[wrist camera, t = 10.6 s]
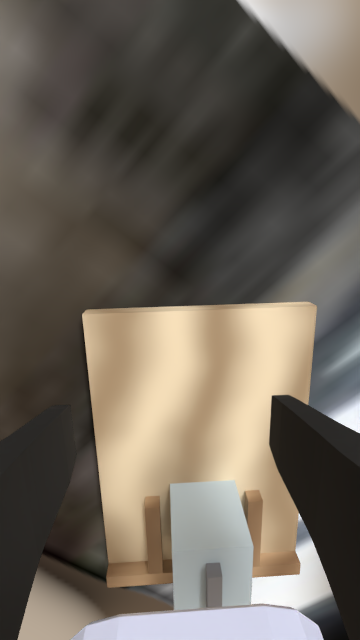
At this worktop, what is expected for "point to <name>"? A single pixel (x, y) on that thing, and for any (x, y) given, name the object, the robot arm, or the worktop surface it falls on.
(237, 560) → the cabinet block
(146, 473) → the wall board
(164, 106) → the worktop surface
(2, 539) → the robot arm
